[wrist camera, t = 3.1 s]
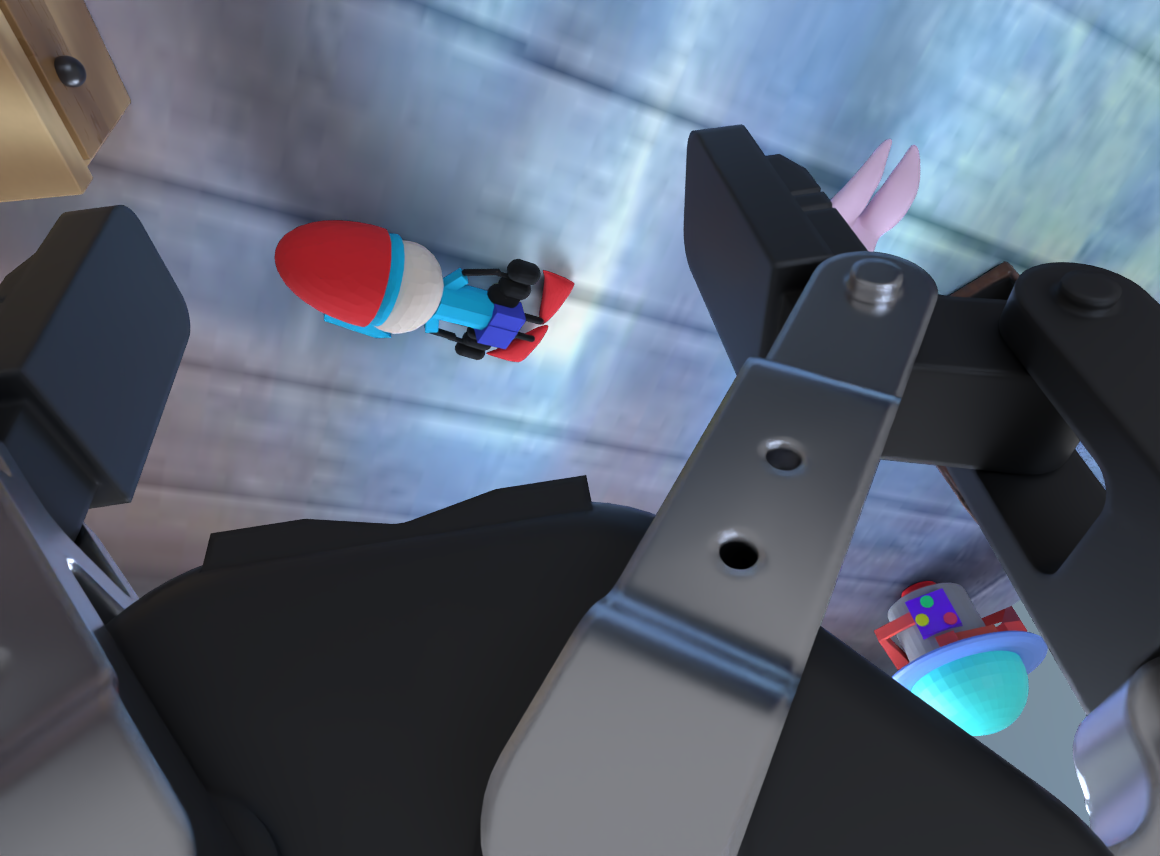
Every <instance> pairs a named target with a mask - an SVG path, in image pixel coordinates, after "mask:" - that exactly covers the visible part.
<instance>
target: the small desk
mask: <svg viewBox="0 0 1160 856" xmlns="http://www.w3.org/2000/svg"><path fill="white" fill-rule="evenodd" d="M130 103H131V100H130V98H129V96H128V94H127V92H126V90H125V87H124V85H123V83H122V81H121V79H120V77H119V75H118V73H117V70H116V68H115V66H114V64H113V62H112V60H111V58H110V56H109V54H108V51H107V49H106V47H105V45H104V43H103V41H102V39H101V37H100V34H99V32H98V30H97V28H96V26H95V24H94V22H93V20H92V17H91V15H90V13H89V11H88V9H87V7H86V5H85V3H84V0H0V202H8V201H19V200H29V199H39V198H49V197H59V196H69V195H79V194H83V193H84V192H85V190H86V189H87V187H88V186H89V184H90V183H91V181H92V179H93V177H92V175H91V173H90V171H89V169H88V167H87V166H88V165H89V164H90V162H91V161H92V159H93V158H94V156H95V155H96V153H97V152H98V150H99V149H100V147H101V146H102V144H103V143H104V141H105V140H106V138H107V137H108V135H109V134H110V132H111V131H112V130H113V128H114V127H115V125H116V124H117V122H118V121H119V119H120V118H121V116H122V115H123V113H124V112H125V110H126V109H127V107H128V106H129V104H130Z"/></svg>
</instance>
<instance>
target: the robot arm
mask: <svg viewBox="0 0 1160 856" xmlns="http://www.w3.org/2000/svg"><path fill="white" fill-rule="evenodd" d="M820 189H821V188H820V187H819V185H818V184H817V183H816V181H815V180H814V179H813V177H812V176H811V175H810V173H809V172H808V171H807V169H805V168H804V167H802V166H800V165H798V164H797V163H795V162H793V161H791V160H789V159H788V158H786V157H784V156H782V155H781V154H776V155H769V156H765V155H764V153H763V152H762V150H761V149H760V148H759V146H758V145H757V143H756V142H755V140H754V139H753V137H752V136H751V135H750V133H749V132H748V130H747V129H746V127H745V126H744V125H742V124H741V125H733V126H725V127H718V128H710V129H703V130H695V131H692V132H691V133H690V135H689V138H688V144H687V159H686V183H685V207H684V244H685V252H686V257H687V261H688V265H689V268H690V270H691V272H692V275H693V277H694V279H695V281H696V284H697V286H698V288H699V291H700V293H701V295H702V297H703V300H704V302H705V304H706V307H707V309H708V311H709V313H710V316H711V318H712V320H713V322H714V325H715V327H716V329H717V332H718V334H719V336H720V338H721V341H722V343H723V345H724V348H725V350H726V352H727V354H728V357H729V359H730V361H731V363H732V366H733V368H734V370H735V373H736V375H737V376H736V378H735V380H734V381H733V383H732V385H731V387H730V388H729V390H728V392H727V394H726V395H725V397H724V399H723V400H722V402H721V404H720V406H719V407H718V409H717V411H716V412H715V414H714V416H713V418H712V419H711V421H710V423H709V425H708V426H707V428H706V430H705V431H704V433H703V435H702V437H701V438H700V440H699V442H698V443H697V445H696V447H695V449H694V450H693V452H692V454H691V456H690V457H689V459H688V461H687V462H686V464H685V466H684V468H683V469H682V471H681V473H680V474H679V476H678V478H677V480H676V481H675V483H674V485H673V487H672V488H671V490H670V492H669V493H668V495H667V497H666V499H665V500H664V502H663V504H662V505H661V507H660V509H659V511H658V512H657V514H656V515H655V514H652V513H650V512H646V511H643V510H639V509H636V508H632V507H628V506H622V505H617V504H611V503H601V502H591V497H590V492H589V487H588V482H587V477H586V475H584V476H577V477H571V478H565V479H558V480H552V481H545V482H539V483H532V484H526V485H520V486H513V487H507V488H500V489H495V490H492V491H490V492H487V493H484V494H481V495H479V496H476V497H473V498H471V499H468V500H465V501H463V502H460V503H457V504H454V505H452V506H449V507H446V508H444V509H441V510H438V511H435V512H433V513H430V514H427V515H425V516H422V517H419V518H417V519H414V520H411V521H408V522H405V523H399V524H383V523H366V522H349V521H332V520H315V519H301V520H294V521H288V522H282V523H275V524H269V525H262V526H256V527H249V528H243V529H237V530H230V531H224V532H217V533H211V535H210V539H209V543H208V547H207V551H206V555H205V559H204V563H203V565H202V566H199V567H197V568H194V569H192V570H190V571H187V572H185V573H183V574H181V575H179V576H177V577H175V578H173V579H171V580H169V581H167V582H165V583H164V584H162V585H160V586H159V587H157V588H155V589H153V590H152V591H150V592H148V593H147V594H145V595H144V596H143V597H141V598H140V599H139V598H138V596H137V595H136V593H135V592H134V590H133V589H132V587H131V586H130V584H129V583H128V581H127V580H126V578H125V577H124V575H123V574H122V572H121V571H120V569H119V568H118V566H117V565H116V563H115V562H114V560H113V559H112V557H111V556H110V555H109V553H108V552H107V550H106V549H105V547H104V546H103V544H102V543H101V541H100V540H99V538H98V537H97V535H96V534H95V533H94V532H93V531H92V530H91V529H90V528H89V527H88V526H87V525H86V524H85V523H84V519H85V517H86V514H87V512H88V509H91V508H97V507H104V506H110V505H117V504H123V503H130V502H131V501H132V498H133V495H134V492H135V490H136V487H137V484H138V481H139V478H140V475H141V473H142V470H143V467H144V464H145V461H146V458H147V456H148V453H149V450H150V447H151V444H152V441H153V438H154V436H155V433H156V430H157V427H158V424H159V421H160V419H161V416H162V413H163V410H164V407H165V404H166V402H167V399H168V396H169V393H170V390H171V387H172V385H173V382H174V379H175V376H176V373H177V370H178V368H179V365H180V362H181V359H182V356H183V353H184V351H185V348H186V345H187V342H188V339H189V336H190V319H189V313H188V309H187V306H186V303H185V301H184V298H183V296H182V294H181V292H180V291H179V289H178V287H177V285H176V283H175V282H174V280H173V278H172V276H171V275H170V273H169V271H168V269H167V268H166V266H165V264H164V262H163V260H162V259H161V257H160V255H159V253H158V252H157V250H156V248H155V246H154V244H153V243H152V241H151V239H150V237H149V236H148V234H147V232H146V230H145V229H144V227H143V225H142V223H141V222H140V220H139V218H138V217H137V216H136V215H135V213H134V212H133V211H132V210H131V209H129V208H128V207H126V206H124V205H116V206H108V207H101V208H93V209H86V210H78V211H70V212H65V213H63V214H62V215H61V216H60V217H59V219H58V220H57V222H56V223H55V225H54V226H53V228H52V229H51V231H50V232H49V234H48V235H47V237H46V238H45V240H44V241H43V243H42V244H41V246H40V247H39V249H38V250H37V252H36V253H35V254H34V255H32V256H31V257H30V258H29V259H27V260H26V261H25V262H23V263H22V264H21V265H20V266H18V267H17V268H16V269H14V270H13V271H12V272H11V273H9V274H8V275H7V276H6V277H5V278H4V280H3V281H2V283H1V284H0V856H1160V304H1159V303H1158V302H1157V301H1156V300H1155V299H1154V298H1152V297H1151V296H1150V295H1149V294H1148V293H1147V292H1146V291H1145V290H1144V289H1143V288H1141V287H1140V286H1139V285H1137V284H1136V283H1134V282H1133V281H1131V280H1129V279H1127V278H1125V277H1123V276H1121V275H1119V274H1117V273H1114V272H1112V271H1109V270H1106V269H1103V268H1099V267H1096V266H1091V265H1086V264H1080V263H1069V262H1056V263H1047V264H1041V265H1038V266H1034V267H1032V268H1030V269H1028V270H1026V271H1024V272H1023V273H1022V274H1021V275H1020V276H1019V277H1018V279H1017V280H1016V282H1015V285H1014V287H1013V289H1012V291H1011V294H1010V296H1009V298H1008V300H1000V299H985V298H970V297H955V296H945V295H939V294H938V289H937V286H936V283H935V281H934V280H933V278H932V277H931V276H930V275H929V274H928V273H927V272H926V271H925V270H924V269H922V268H921V267H919V266H918V265H916V264H914V263H912V262H910V261H908V260H906V259H903V258H901V257H898V256H894V255H891V254H886V253H880V252H870V251H868V250H867V249H866V247H865V246H864V245H863V243H862V242H861V241H860V239H859V238H858V237H857V235H856V234H855V233H854V231H853V230H852V229H851V227H850V226H849V225H848V223H847V222H846V221H845V219H844V218H843V217H842V216H841V214H840V213H839V212H838V210H837V209H836V208H833V207H832V202H831V201H830V200H829V198H828V197H827V196H826V194H825V193H824V192H821V191H820ZM1080 441H1081V443H1082V444H1083V445H1084V447H1085V448H1086V449H1087V451H1088V452H1089V453H1090V455H1091V456H1092V457H1093V459H1094V460H1095V461H1096V463H1097V464H1098V466H1099V467H1100V469H1101V472H1102V474H1103V477H1104V480H1105V485H1106V490H1105V489H1104V487H1103V486H1102V485H1101V483H1100V482H1099V481H1098V479H1097V478H1096V477H1095V475H1094V474H1093V473H1092V471H1091V470H1090V469H1089V467H1088V466H1087V464H1086V463H1085V462H1084V460H1083V459H1082V458H1081V456H1080V455H1079V454H1078V452H1077V451H1076V450H1075V448H1076V446H1077V445H1078V443H1079V442H1080ZM880 459H881V460H890V461H900V462H909V463H919V464H928V465H938V466H946V468H947V470H948V471H949V473H950V475H951V477H952V478H953V480H954V482H955V484H956V486H957V487H958V489H959V491H960V493H961V494H962V496H963V498H964V500H965V501H966V503H967V505H968V507H969V509H970V510H971V512H972V514H973V516H974V517H975V519H976V521H977V523H978V524H979V526H980V528H981V530H982V532H983V533H984V535H985V537H986V539H987V540H988V542H989V544H990V546H991V547H992V549H993V551H994V553H995V555H996V556H997V558H998V560H999V562H1000V563H1001V565H1002V567H1003V569H1004V570H1005V572H1006V574H1007V576H1008V578H1009V579H1010V581H1011V583H1012V585H1013V586H1014V588H1015V590H1016V592H1017V594H1018V595H1019V597H1020V599H1021V601H1022V602H1023V604H1024V606H1025V608H1026V609H1027V611H1028V613H1029V615H1030V616H1031V618H1032V620H1033V622H1034V624H1035V625H1036V627H1037V629H1038V631H1039V632H1040V634H1041V636H1042V638H1043V640H1044V641H1045V643H1046V645H1047V647H1048V648H1049V650H1050V652H1051V653H1052V655H1053V657H1054V659H1055V661H1056V663H1057V664H1058V666H1059V668H1060V670H1061V671H1062V673H1063V675H1064V677H1065V678H1066V680H1067V682H1068V684H1069V685H1070V687H1071V689H1072V691H1073V692H1074V694H1075V696H1076V698H1077V700H1078V701H1079V703H1080V705H1081V707H1082V709H1083V710H1084V712H1085V714H1086V717H1085V719H1084V720H1083V721H1082V722H1081V724H1080V725H1079V727H1078V729H1077V731H1076V734H1075V737H1074V742H1073V760H1074V765H1075V770H1076V773H1077V776H1078V778H1079V781H1080V784H1081V786H1082V789H1083V792H1084V794H1085V795H1084V798H1085V805H1086V808H1087V811H1088V813H1089V815H1090V827H1089V826H1087V824H1086V823H1084V822H1083V821H1082V820H1081V819H1080V818H1079V817H1078V816H1077V815H1076V814H1075V813H1074V812H1073V811H1072V810H1070V809H1069V808H1068V807H1067V806H1066V805H1065V804H1063V803H1062V802H1061V801H1060V800H1059V799H1057V798H1056V797H1055V796H1053V795H1052V794H1051V793H1049V792H1048V791H1047V790H1046V789H1044V788H1043V787H1041V786H1040V785H1039V784H1038V783H1036V782H1035V781H1033V780H1032V779H1031V778H1029V777H1028V776H1026V775H1025V774H1024V773H1022V772H1021V771H1020V770H1018V769H1017V768H1016V767H1014V766H1013V765H1011V764H1010V763H1009V762H1007V761H1006V760H1004V759H1003V758H1002V757H1000V756H999V755H998V754H996V753H995V752H994V751H992V750H991V749H989V748H988V747H987V746H985V745H984V744H982V743H981V742H980V741H978V740H977V739H976V738H974V737H973V736H971V735H970V734H969V733H967V732H966V731H965V730H963V729H962V728H960V727H959V726H958V725H956V724H955V723H954V722H952V721H951V720H949V719H948V718H947V717H945V716H944V715H943V714H941V713H940V712H938V711H937V710H936V709H934V708H933V707H932V706H930V705H929V704H927V703H926V702H925V701H923V700H922V699H921V698H919V697H918V696H916V695H915V694H914V693H912V692H911V691H910V690H908V689H907V688H905V687H904V686H903V685H901V684H900V683H898V682H897V681H896V680H894V679H893V678H892V677H890V676H889V675H887V674H886V673H885V672H883V671H882V670H881V669H879V668H878V667H876V666H875V665H874V664H872V663H871V662H870V661H868V660H867V659H865V658H864V657H863V656H861V655H860V654H859V653H857V652H856V651H854V650H853V649H852V648H850V647H849V646H848V645H846V644H845V643H843V642H842V641H841V640H839V639H838V638H837V637H835V636H834V635H832V634H831V633H830V632H828V631H827V630H825V629H824V628H823V627H821V624H822V621H823V618H824V615H825V612H826V610H827V607H828V604H829V601H830V598H831V596H832V593H833V590H834V587H835V584H836V582H837V579H838V576H839V573H840V570H841V568H842V565H843V562H844V559H845V556H846V554H847V551H848V548H849V545H850V542H851V540H852V537H853V534H854V531H855V529H856V526H857V523H858V520H859V517H860V515H861V512H862V509H863V506H864V503H865V501H866V498H867V495H868V492H869V490H870V487H871V484H872V481H873V478H874V476H875V473H876V470H877V467H878V464H879V462H880Z"/></svg>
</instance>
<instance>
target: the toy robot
mask: <svg viewBox="0 0 1160 856" xmlns="http://www.w3.org/2000/svg"><path fill="white" fill-rule="evenodd" d="M901 597H902V598H900V599H899V600H898V601H897V602H895V603H894V604H893V605H892V606H891V608H890V609H889V611H888V619H889V621H890V623H888V624H886V625H884V626H882V627H880V628H878V629H876V630H874V632H875V634H876V636H877V638H878V641H879V642H880V644H881V645H882V647H883V648H884V650H885V651H886V653H887V654H888V656H889V657H890V659H891V660H892V662H893V663H894V665H895V666H896V668H897V669H898V671H897V672H896V673H895V674H894V675H893V676H892V678H893V679H894V680H896V681H897V682H898V683H900V684H901V685H903V686H904V687H905V688H907V689H908V690H910V691H911V692H912V693H914V694H915V695H916V696H918V697H919V698H921V699H922V700H923V701H925V702H926V703H927V704H929V705H930V706H932V707H933V708H934V709H936V710H937V711H938V712H940V713H941V714H943V715H944V716H945V717H947V718H948V719H949V720H951V721H952V722H954V723H955V724H956V725H958V726H959V727H960V728H962V729H963V730H965V731H966V732H967V733H969V734H970V735H971V736H982V735H989V734H993V733H996V732H999V731H1000V730H1003V729H1005V728H1006V727H1008V726H1010V725H1011V724H1012V723H1013V722H1014V721H1015V720H1016V719H1017V718H1018V717H1019V716H1020V714H1021V712H1022V710H1023V709H1024V707H1025V705H1026V701H1027V697H1028V691H1029V689H1028V687H1029V686H1028V676H1027V675H1028V674H1029V673H1030V672H1032V671H1033V670H1034V669H1035V668H1036V667H1038V666H1039V664H1040V663H1041V662H1042V661H1043V659H1044V658H1045V656H1046V654H1047V649H1048V647H1047V645H1046V643H1045V641H1044V640H1043V638H1042V637H1040V636H1039V635H1036V634H1034V633H1031V632H1027V630H1026V628H1025V626H1024V625H1023V623H1022V622H1021V620H1020V618H1019V617H1018V615H1017V614H1016V612H1015V611H1014V609H1013V607H1012V606H1010V607H1008V608H1006V609H1003V610H1001V611H998V612H996V613H994V614H991V615H989V616H986V617H984V618H981V617H980V615H979V613H978V612H977V610H976V608H975V606H974V605H973V603H972V601H971V600H970V598H969V596H968V595H967V593H966V591H965V589H964V588H963V587H962V586H961V585H959V584H956V583H939V584H936V583H935V582H933V581H923V582H919V583H916V584H914V585H912V586H910V587H908V588H907V589H905V590H904V591H903V593H902V595H901ZM999 622H1002V623H1001V625H999V626H998V627H995V625H993V624H996V623H999ZM894 635H897V637H898V639H899V641H900V643H901V645H902V647H903V649H904V651H905V652H904V651H903V650H902V649H901V648H899V647H898V646H897V645H896V644H895V643H894V642H893V641H892V640H891V639H890V637H892V636H894Z"/></svg>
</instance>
